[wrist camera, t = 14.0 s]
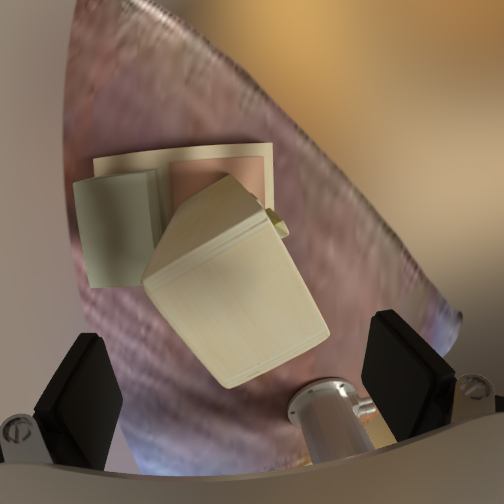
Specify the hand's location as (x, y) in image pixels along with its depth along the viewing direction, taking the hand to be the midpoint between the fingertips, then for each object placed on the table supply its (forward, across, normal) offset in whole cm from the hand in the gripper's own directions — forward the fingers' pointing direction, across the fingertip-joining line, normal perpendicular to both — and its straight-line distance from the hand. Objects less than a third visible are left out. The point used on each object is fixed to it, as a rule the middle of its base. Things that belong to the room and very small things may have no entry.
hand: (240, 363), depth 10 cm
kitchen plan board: (+29, +4, -1) cm, 29 cm away
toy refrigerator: (+26, 0, 0) cm, 26 cm away
